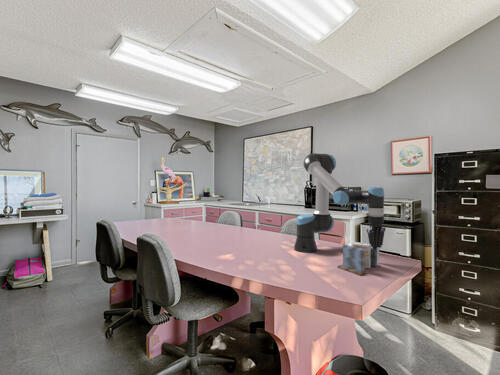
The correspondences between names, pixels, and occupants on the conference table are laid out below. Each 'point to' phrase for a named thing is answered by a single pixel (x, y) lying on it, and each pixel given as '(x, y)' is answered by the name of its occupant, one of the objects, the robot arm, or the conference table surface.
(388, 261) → the conference table surface
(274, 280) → the conference table surface
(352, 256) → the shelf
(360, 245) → the ink box
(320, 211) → the robot arm
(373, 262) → the bookend
